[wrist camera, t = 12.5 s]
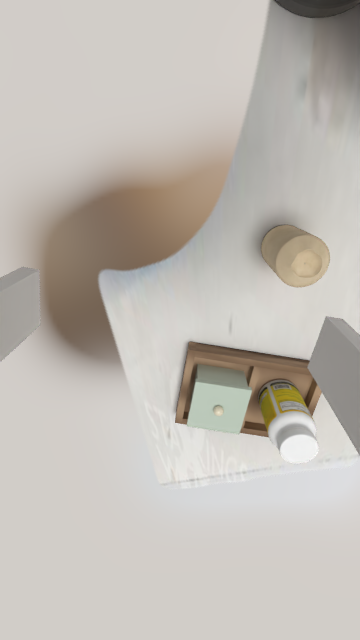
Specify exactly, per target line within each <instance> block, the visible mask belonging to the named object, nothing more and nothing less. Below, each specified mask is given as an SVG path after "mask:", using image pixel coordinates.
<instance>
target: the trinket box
mask: <svg viewBox="0 0 360 640" xmlns="http://www.w3.org/2000/svg"><path fill="white" fill-rule="evenodd" d="M251 393H252V388H251V387H248V385H247V381H246V377H245V373H244V371H240V370H234V369H227V368H221V367H215V366H208V365H202V364H197V369H196V374H195V379H194V383H193V388H192V393H191V398H190V409H189V414H188V419H187V426H188V427H195V428H201V429H208V430H214V431H221V432H227V433H233V434H240V430H241V427H242V424H243V420H244V417H245V413H246V410H247V407H248V403H249V400H250V396H251Z"/></svg>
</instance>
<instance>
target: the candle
mask: <svg viewBox="0 0 360 640" xmlns="http://www.w3.org/2000/svg"><path fill="white" fill-rule="evenodd" d="M261 252H262V256H263V258H264V260H265V261H266V263H267V264H268V265H269V266H270V267H271V269H272V270H273V271H274V272H275V273H276V274H277V276H278V277H279V278H280V279H281V280H282V281H283V282H284V283H286V284H287V285H290V286H293V287H305V286H309V285H311V284H313V283H315V282H317V281H318V280H319V279H320V278H321V277H322V276H323V275H324V274H325V272H326V270H327V268H328V266H329V261H330V254H329V250H328V247H327V246H326V244H325V243H324V242H323V241H322V240H321V239H319V238H318V237H316V236H314V235H311V234H309V233H307V232H305V231H303V230H301V229H298V228H296V227H294V226H291V225H281V226H277V227H275V228H273V229H272V230H270V231H269V232H268V233H267V234H266V236H265V237H264V239H263V242H262V246H261Z"/></svg>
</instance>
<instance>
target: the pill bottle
mask: <svg viewBox="0 0 360 640" xmlns="http://www.w3.org/2000/svg"><path fill="white" fill-rule="evenodd" d="M258 401H259V405H260V409H261V412H262V415H263V419H264V422H265V426H266V429H267V432H268V436H269V438H270V440H271V442H272V443H273V444H274V445H275V446H276V447H277V448H278V449H279V452H280V455H281V456H282V458H283V459H284V460H286V461H287V462H290V463H294V464H301V463H305V462H308V461H310V460H311V459H313V458H314V457H315V456H316V455H317V453H318V450H319V445H318V442H317V440H316V433H317V429H316V425H315V422H314V420H313V418H312V416H311V414H310V412H309V410H308V408H307V406H306V404H305V402H304V400H303V398H302V396H301V394H300V392H299V390H298V389H297V387H296V386H295V385H294V384H293V383H291V382H289V381H287V380H273V381H271V382H268V383H267V384H265V385H264V386H263V387H262V388H261V390H260V392H259V395H258Z"/></svg>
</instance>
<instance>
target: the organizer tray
mask: <svg viewBox="0 0 360 640" xmlns="http://www.w3.org/2000/svg"><path fill="white" fill-rule="evenodd" d="M309 362H310V361H308V360H301V359H295V358H289V357H283V356H276V355H270V354H264V353H258V352H251V351H245V350H239V349H232V348H226V347H220V346H214V345H207V344H201V343H195V342H189V346H188V351H187V356H186V362H185V367H184V372H183V378H182V383H181V389H180V394H179V399H178V405H177V410H176V419H175V423H180V424H187V419H188V414H189V409H190V398H191V393H192V388H193V383H194V379H195V374H196V369H197V364H202V365H208V366H215V367H221V368H227V369H234V370H240V371H244V373H245V377H246V381H247V385H248V387H251V388H252V393H251V396H250V400H249V403H248V407H247V410H246V413H245V417H244V420H243V424H242V427H241V430H240V433H245V434H252V435H258V436H265V437H269V436H268V432H267V429H266V426H265V422H264V419H263V415H262V412H261V409H260V405H259V401H258V395H259V392H260V390H261V388H262V387H263V386H264V385H265V384H267V383H268V382H271V381H273V380H287V381H289V382H291V383H293V384H294V385H295V386H296V387H297V389H298V390H299V392H300V394H301V396H302V398H303V400H304V402H305V404H306V406H307V408H308V410H309V412H310V414H311V416H312V415H313V412H314V410H315V407H316V405H317V402H318V400H319V397H320V395H321V392H322V391H321V390H320V388H319V386H318V385H317V383H316V381H315V379H314V378H313V376H312V374H311V373H310V371H309V369H308V368H307V367H308V364H309Z"/></svg>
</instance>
